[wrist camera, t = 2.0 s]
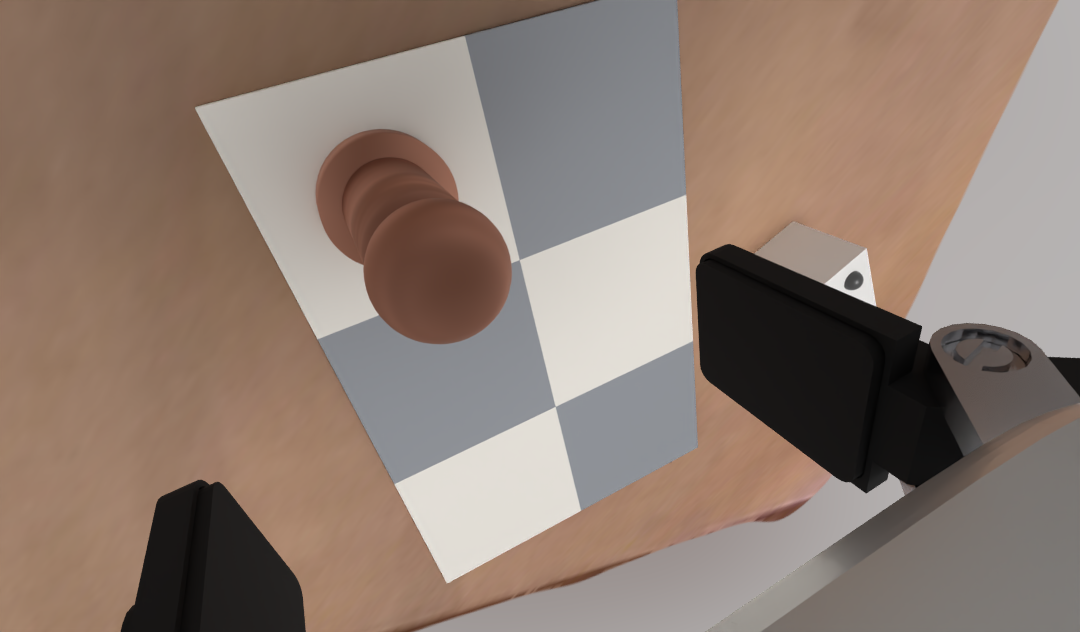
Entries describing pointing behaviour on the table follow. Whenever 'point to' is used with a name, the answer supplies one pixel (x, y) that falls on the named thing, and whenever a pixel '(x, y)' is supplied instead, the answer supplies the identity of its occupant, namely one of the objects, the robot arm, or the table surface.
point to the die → (822, 259)
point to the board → (536, 257)
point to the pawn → (413, 237)
